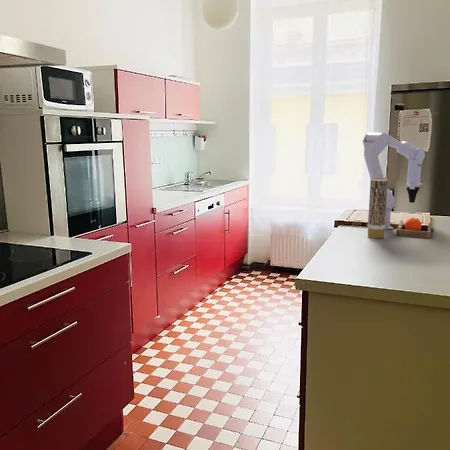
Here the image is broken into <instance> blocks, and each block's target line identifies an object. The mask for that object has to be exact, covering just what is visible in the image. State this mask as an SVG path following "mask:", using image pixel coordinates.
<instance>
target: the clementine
mask: <svg viewBox="0 0 450 450" xmlns="http://www.w3.org/2000/svg"><path fill="white" fill-rule="evenodd" d="M404 230H413V231H422V222H421V218H415V217H411V218H408V219H407V220H406V221H405V223H404Z"/></svg>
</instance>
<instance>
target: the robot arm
mask: <svg viewBox="0 0 450 450" xmlns="http://www.w3.org/2000/svg"><path fill="white" fill-rule="evenodd" d="M362 144H363V148H364V149H363V151H364V152H363V157H364V160H365V164H366V168H367V171H368V174H369V178H370V179H371V178H385V176H384V174H383V170H382V167H381V166H382V165H381V161H380V159H379V155H380V154H381V153H382V152H383V151H384V150H385V149H386V147H387V146H389V147H391V148H394V149H396V152H397V153H398V154H399V155H402V156H404V157H405V158H406V159H407V161H408V165H407V176H406V179H407V180H406V182H405V183H406V186H407V187H406V191H407V194H408V201H409V203H411V204H412V203H415V202H416V198H417V194H418V193H419V190H420V186H423V183H422V182H421V175H422V174H421V173H422V172H421V171H422V165H423V162H424V159H425V157H426V154H425V150H424V149H422V148H421V147H417V146H416V145H415V144H410V142H409V141H408V140H407V141H406V140H405V141H399V140H398V139H396V138H394V137H393V136H391V134H388V133H386V132H368V133H366V134H365V136H364V137H363V140H362ZM395 205H396V198H395V196H394V195H393V193H392V190H390V189H389V188H387V200H386V217H385V230H393V229H394V227H392V226H391V214H392V210H393V209H394V207H395ZM368 219H369V212H368V216H367V220H368ZM366 226H367V227H368V224H367V225H366Z"/></svg>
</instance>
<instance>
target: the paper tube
mask: <svg viewBox="0 0 450 450" xmlns="http://www.w3.org/2000/svg"><path fill="white" fill-rule="evenodd" d="M369 185H370V187H369V204H368V205H369V206H368V213H369V219H368V218H367V225H368V226H367V237H368V238H371V239H377V240H378V239H383V238H384V237H385V232H386V231H385V230H386V229H385V217H386V200H387V189H388V185H389V184H388V178H386V177H384V178H370V182H369Z"/></svg>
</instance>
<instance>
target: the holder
mask: <svg viewBox="0 0 450 450" xmlns="http://www.w3.org/2000/svg"><path fill="white" fill-rule="evenodd" d="M403 226H404V220H400V221H399V224H398V226H397V228H396V235H395V236H397V237H398V236H400V237H410V238H411V237H412V238H420V239H421V238H422V239H423V238H424V239H431V233H432V231H431V230H432V222H428V225H427V231H425V230H420V231H413V230H406V229H403Z"/></svg>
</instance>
